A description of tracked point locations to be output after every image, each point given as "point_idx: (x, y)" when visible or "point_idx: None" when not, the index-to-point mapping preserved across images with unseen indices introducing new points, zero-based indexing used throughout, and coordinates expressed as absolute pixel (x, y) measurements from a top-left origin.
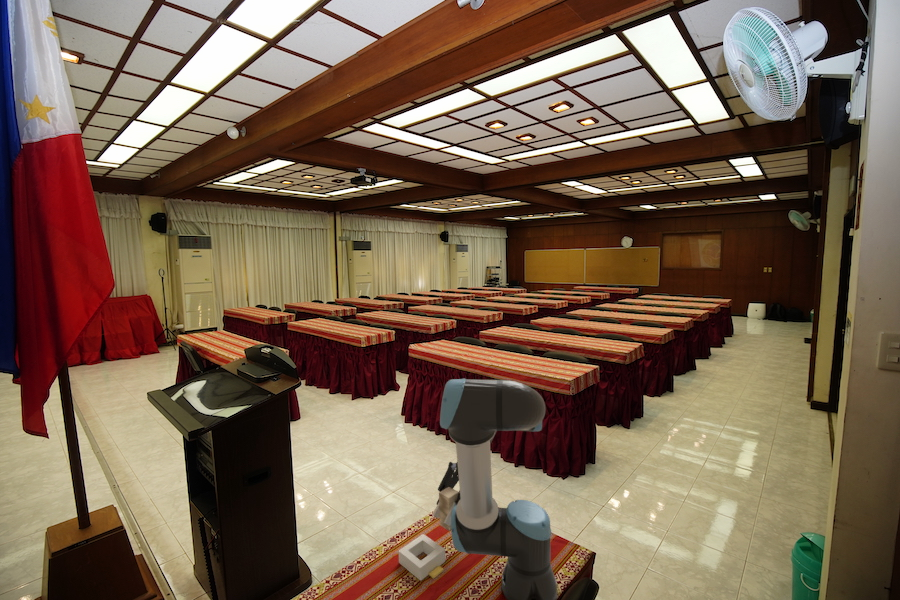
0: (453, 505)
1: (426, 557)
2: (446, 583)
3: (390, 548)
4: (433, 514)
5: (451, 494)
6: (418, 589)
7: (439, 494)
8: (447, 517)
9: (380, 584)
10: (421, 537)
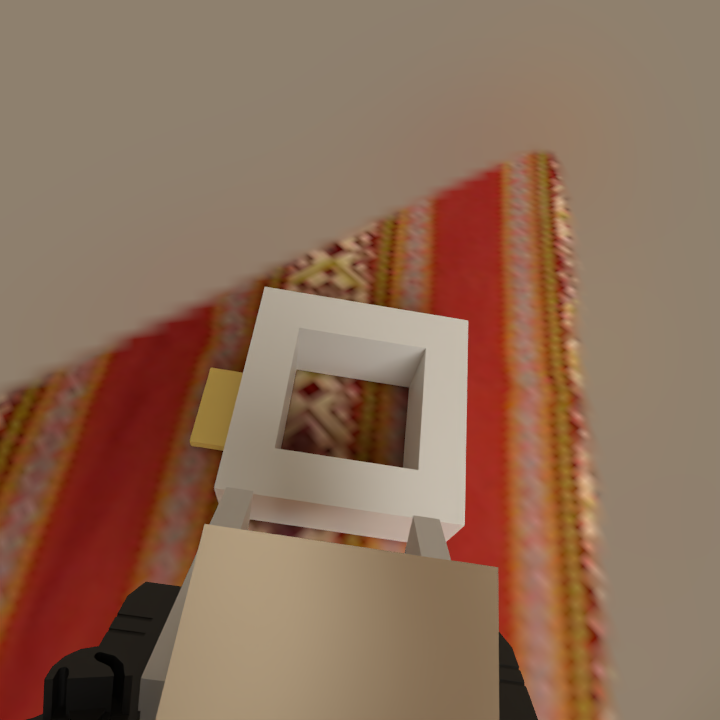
0: (172, 638)
1: (285, 362)
2: (131, 391)
3: (572, 417)
4: (431, 526)
5: (225, 682)
6: (246, 297)
7: (471, 571)
8: (223, 523)
9: (415, 242)
10: (444, 485)
